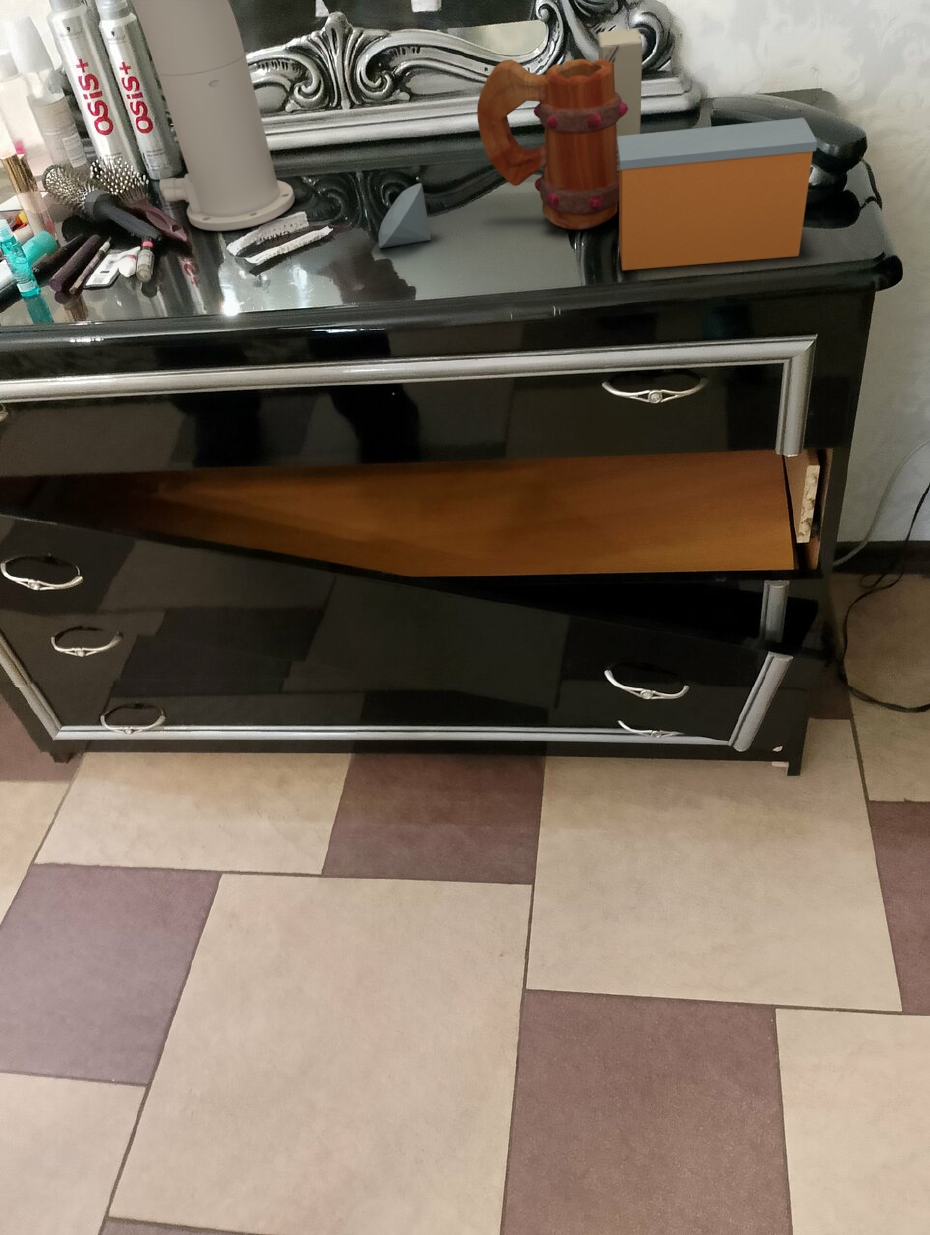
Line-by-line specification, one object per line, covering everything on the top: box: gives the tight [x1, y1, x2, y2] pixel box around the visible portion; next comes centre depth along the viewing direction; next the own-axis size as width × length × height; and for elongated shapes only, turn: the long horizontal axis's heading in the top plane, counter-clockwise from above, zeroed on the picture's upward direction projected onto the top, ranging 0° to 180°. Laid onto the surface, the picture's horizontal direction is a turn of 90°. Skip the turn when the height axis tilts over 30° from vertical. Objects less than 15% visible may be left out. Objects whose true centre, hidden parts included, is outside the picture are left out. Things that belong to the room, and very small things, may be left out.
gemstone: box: [377, 182, 432, 249], centre depth 97 cm, size 8×8×5 cm
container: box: [617, 117, 818, 271], centre depth 85 cm, size 16×6×10 cm, turn 86°
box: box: [597, 27, 643, 172], centre depth 102 cm, size 5×4×13 cm
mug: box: [476, 58, 628, 231], centre depth 92 cm, size 15×8×15 cm, turn 74°
